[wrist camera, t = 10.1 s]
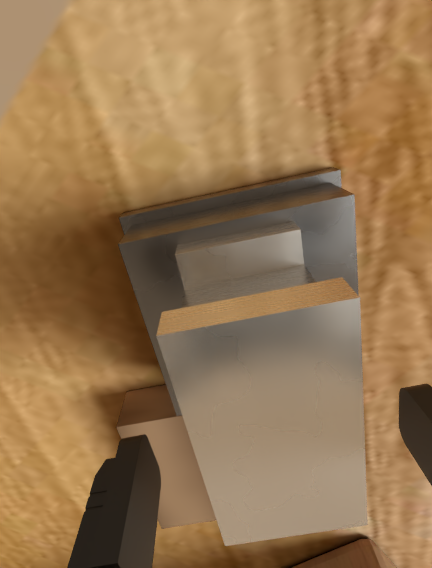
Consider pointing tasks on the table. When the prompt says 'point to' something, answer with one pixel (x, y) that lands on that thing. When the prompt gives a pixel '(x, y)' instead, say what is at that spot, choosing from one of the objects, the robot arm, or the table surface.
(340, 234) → the stand
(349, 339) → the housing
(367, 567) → the wooden block
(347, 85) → the table surface
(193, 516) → the stand
